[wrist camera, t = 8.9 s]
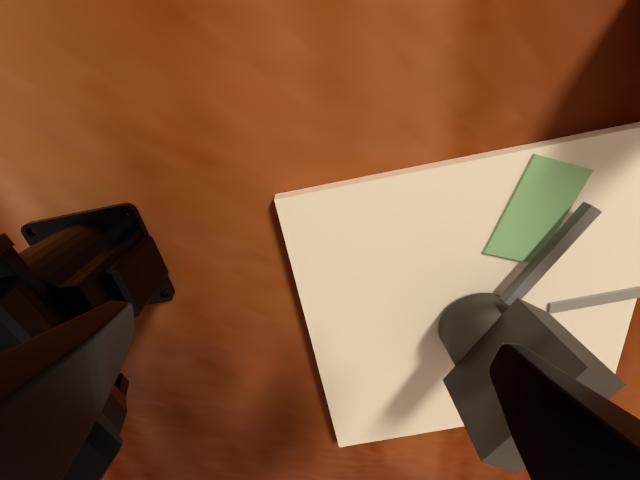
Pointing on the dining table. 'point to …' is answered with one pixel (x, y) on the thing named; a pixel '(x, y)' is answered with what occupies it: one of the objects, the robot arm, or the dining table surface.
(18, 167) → the dining table surface
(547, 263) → the dark grey angled piece
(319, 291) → the dial plate
